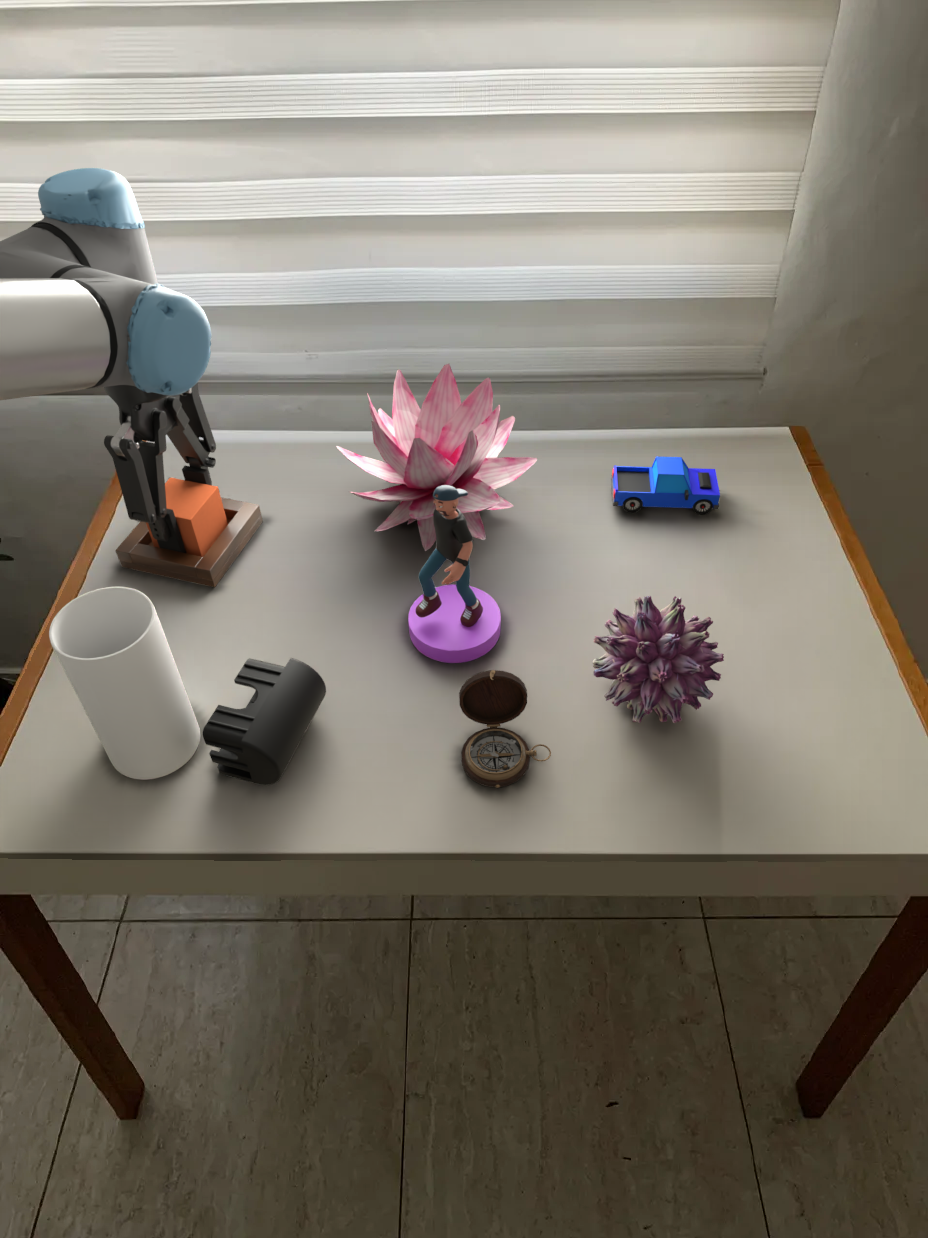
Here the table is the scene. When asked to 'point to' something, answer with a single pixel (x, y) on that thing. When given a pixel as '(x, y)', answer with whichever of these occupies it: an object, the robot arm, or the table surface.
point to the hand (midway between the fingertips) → (191, 534)
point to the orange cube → (195, 514)
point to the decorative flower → (440, 454)
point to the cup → (126, 680)
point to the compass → (495, 729)
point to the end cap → (265, 721)
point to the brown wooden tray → (188, 567)
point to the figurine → (452, 593)
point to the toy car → (665, 486)
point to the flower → (657, 659)
